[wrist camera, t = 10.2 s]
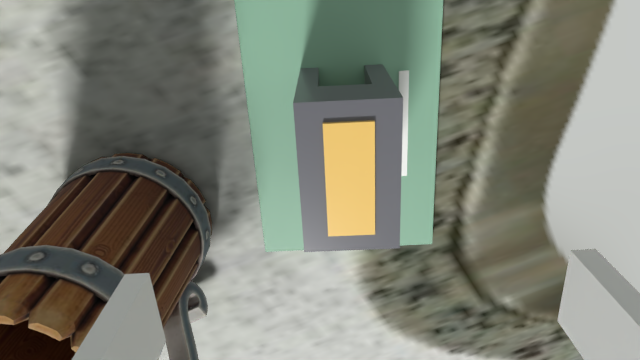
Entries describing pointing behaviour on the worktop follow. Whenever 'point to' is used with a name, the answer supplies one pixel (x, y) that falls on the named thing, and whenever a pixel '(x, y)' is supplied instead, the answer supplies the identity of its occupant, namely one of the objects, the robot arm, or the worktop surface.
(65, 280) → the mug
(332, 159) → the grey slotted block
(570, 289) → the robot arm
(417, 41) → the board
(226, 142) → the worktop surface
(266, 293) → the worktop surface
